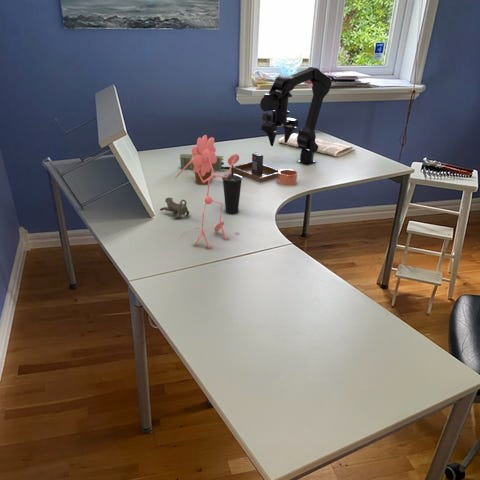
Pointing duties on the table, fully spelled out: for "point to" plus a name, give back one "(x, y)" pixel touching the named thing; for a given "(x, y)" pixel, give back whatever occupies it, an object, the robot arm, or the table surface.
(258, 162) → the dark grey block
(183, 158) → the handheld radio
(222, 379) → the table surface
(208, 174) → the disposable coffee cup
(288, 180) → the holder cup
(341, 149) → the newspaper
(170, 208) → the dog figurine
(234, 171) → the tray
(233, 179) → the drinking cup
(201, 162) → the figurine
